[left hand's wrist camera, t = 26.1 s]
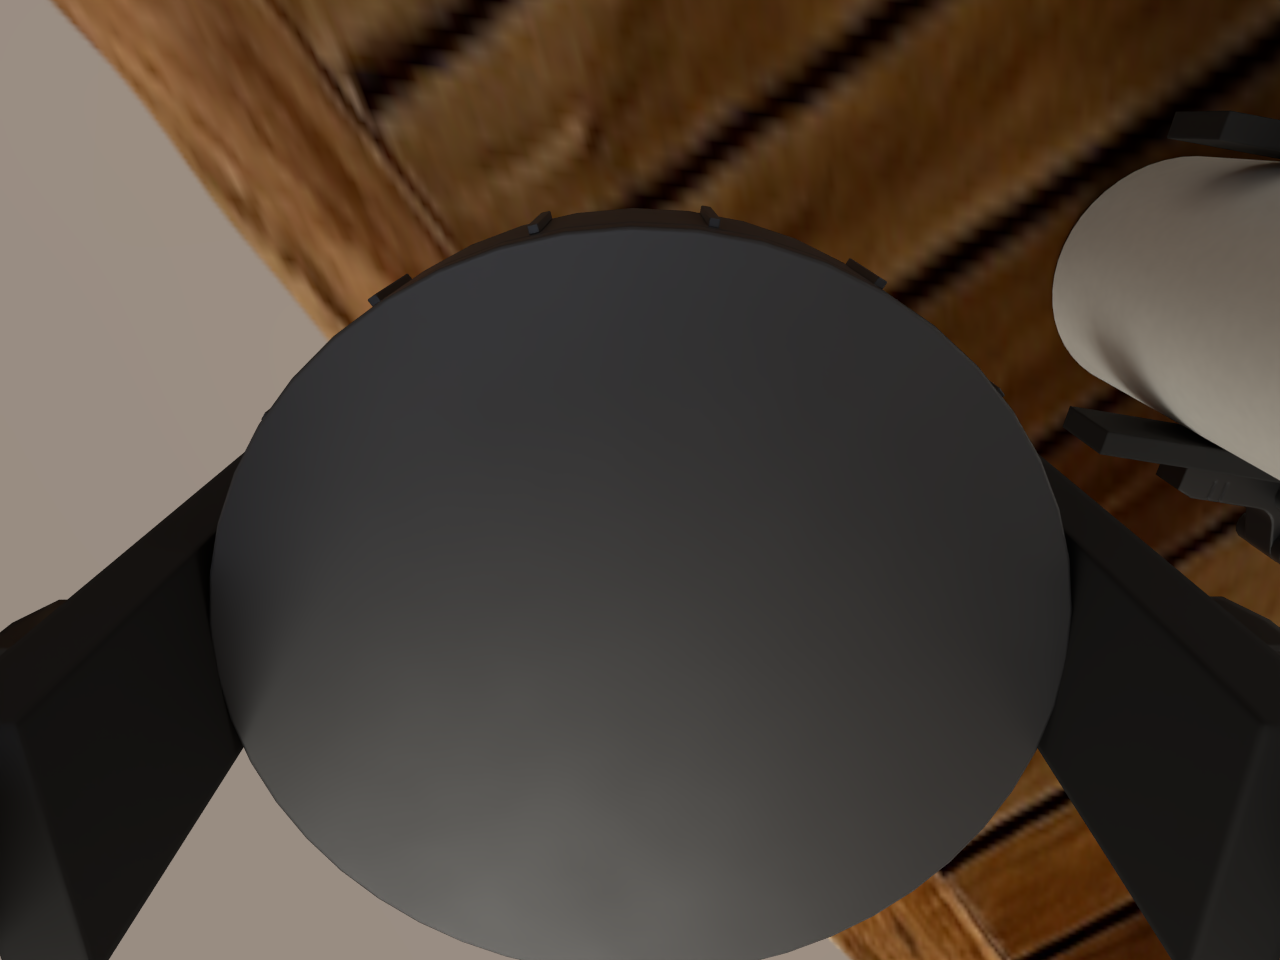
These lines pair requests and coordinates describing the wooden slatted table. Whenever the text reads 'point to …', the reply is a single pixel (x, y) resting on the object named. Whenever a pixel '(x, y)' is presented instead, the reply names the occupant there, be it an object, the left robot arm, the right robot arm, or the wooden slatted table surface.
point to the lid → (640, 593)
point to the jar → (1184, 297)
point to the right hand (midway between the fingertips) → (1137, 286)
